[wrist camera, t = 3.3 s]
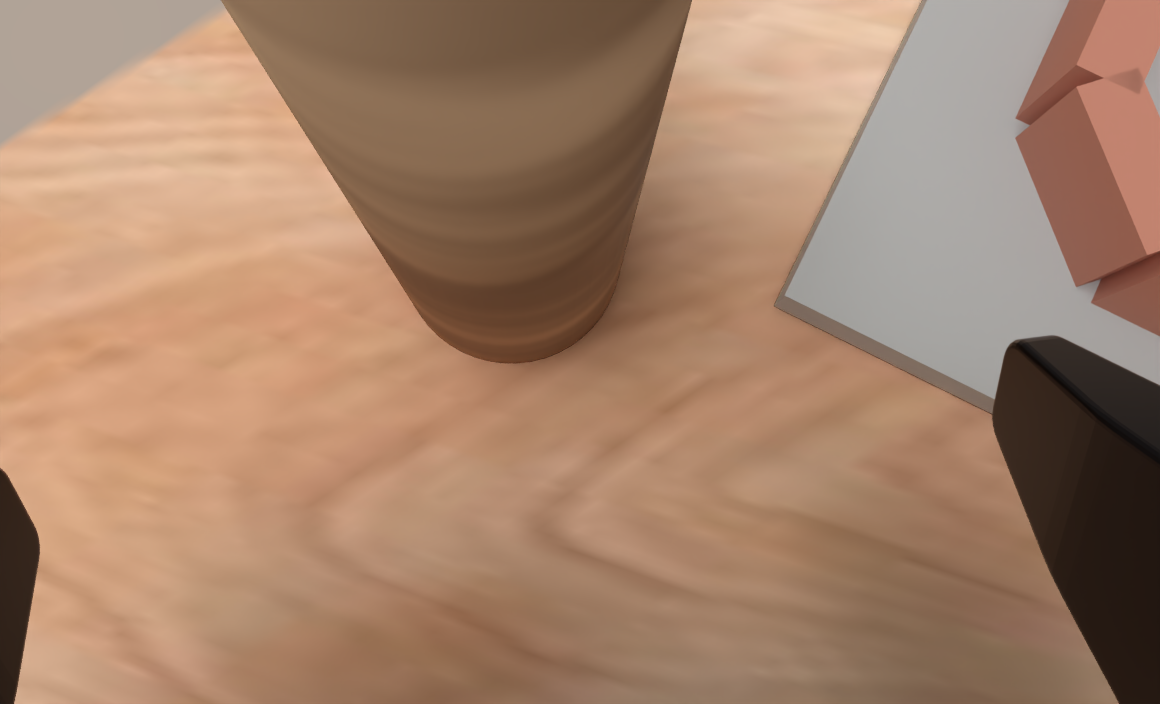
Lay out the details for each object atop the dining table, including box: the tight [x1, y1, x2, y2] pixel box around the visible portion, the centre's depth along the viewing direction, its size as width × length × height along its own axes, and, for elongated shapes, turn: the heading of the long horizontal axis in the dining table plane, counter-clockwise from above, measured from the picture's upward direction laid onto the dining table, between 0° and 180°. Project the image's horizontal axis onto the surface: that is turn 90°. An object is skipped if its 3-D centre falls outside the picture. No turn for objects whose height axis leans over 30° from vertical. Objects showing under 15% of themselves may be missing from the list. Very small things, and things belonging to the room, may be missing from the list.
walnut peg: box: [221, 0, 692, 363], centre depth 15 cm, size 4×4×14 cm
